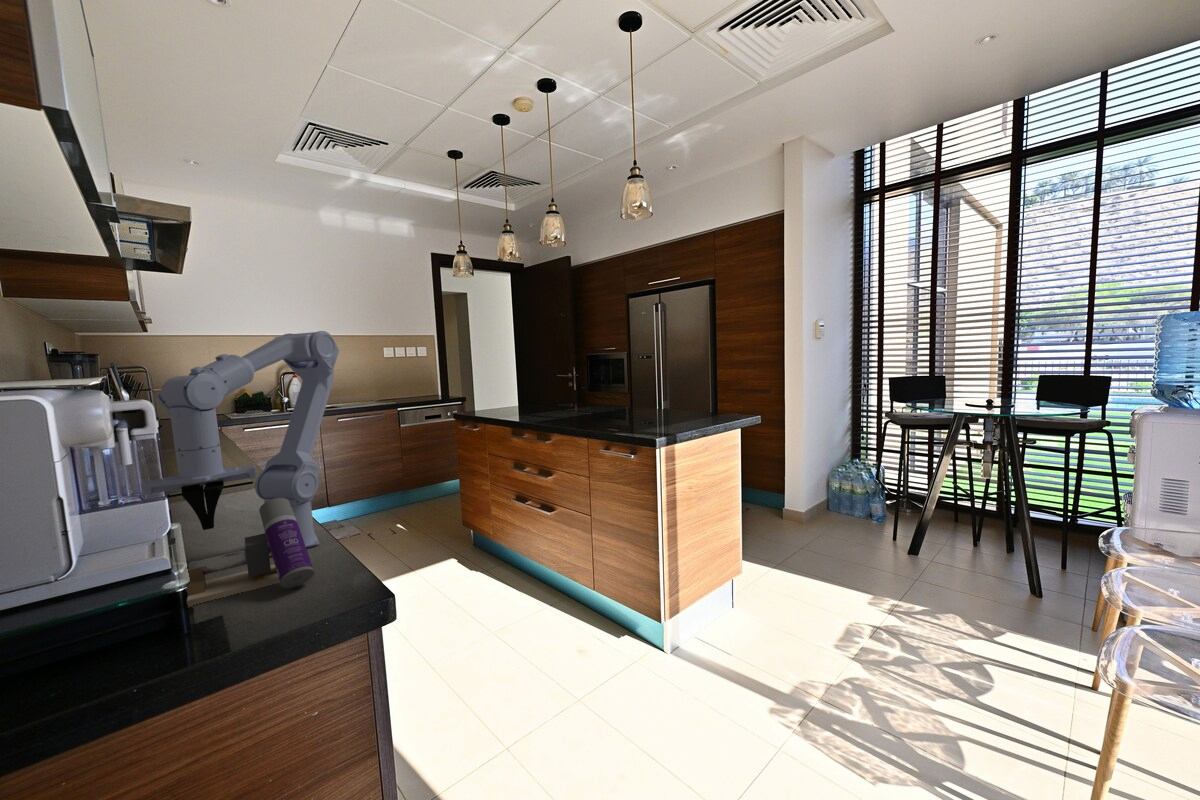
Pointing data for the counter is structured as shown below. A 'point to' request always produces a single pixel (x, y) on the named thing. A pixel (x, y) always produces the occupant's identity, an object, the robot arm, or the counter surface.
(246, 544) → the upright grey rectangular block
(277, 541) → the container
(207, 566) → the dark long bar
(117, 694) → the counter surface
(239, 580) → the base board
